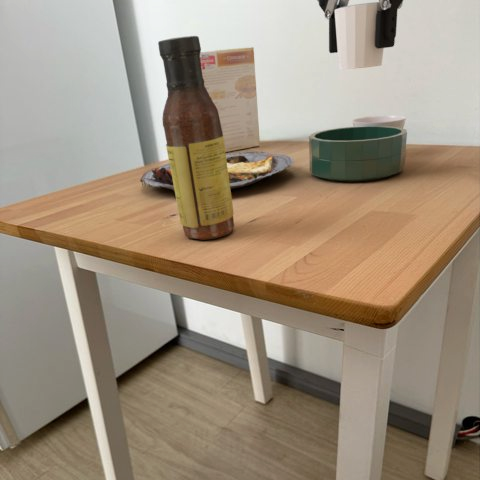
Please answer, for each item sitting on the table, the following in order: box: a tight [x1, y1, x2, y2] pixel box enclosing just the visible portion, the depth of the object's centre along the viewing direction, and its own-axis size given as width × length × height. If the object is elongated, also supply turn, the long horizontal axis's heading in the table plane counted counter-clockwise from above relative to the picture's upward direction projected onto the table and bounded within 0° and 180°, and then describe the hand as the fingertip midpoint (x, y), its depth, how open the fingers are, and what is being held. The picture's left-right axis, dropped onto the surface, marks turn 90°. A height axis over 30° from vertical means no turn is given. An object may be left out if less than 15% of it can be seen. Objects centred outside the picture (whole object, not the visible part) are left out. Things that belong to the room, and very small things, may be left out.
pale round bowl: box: [352, 114, 407, 129], centre depth 84 cm, size 9×9×6 cm
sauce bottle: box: [157, 35, 235, 241], centre depth 51 cm, size 7×6×20 cm
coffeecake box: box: [200, 46, 261, 153], centre depth 101 cm, size 15×7×20 cm, turn 120°
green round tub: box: [308, 126, 408, 183], centre depth 75 cm, size 15×15×6 cm
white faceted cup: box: [335, 1, 385, 70], centre depth 62 cm, size 7×7×7 cm
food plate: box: [139, 151, 295, 192], centre depth 78 cm, size 25×23×4 cm
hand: (360, 48), depth 63 cm, fingers closed on white faceted cup, 6 cm apart
